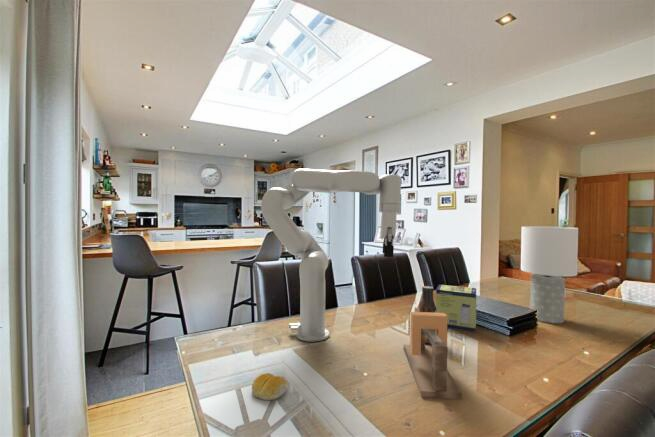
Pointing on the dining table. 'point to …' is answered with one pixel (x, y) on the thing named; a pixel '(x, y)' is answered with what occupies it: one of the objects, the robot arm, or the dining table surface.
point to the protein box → (457, 306)
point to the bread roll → (268, 386)
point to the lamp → (549, 267)
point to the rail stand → (432, 368)
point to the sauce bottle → (427, 304)
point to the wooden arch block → (426, 322)
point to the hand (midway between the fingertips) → (387, 255)
